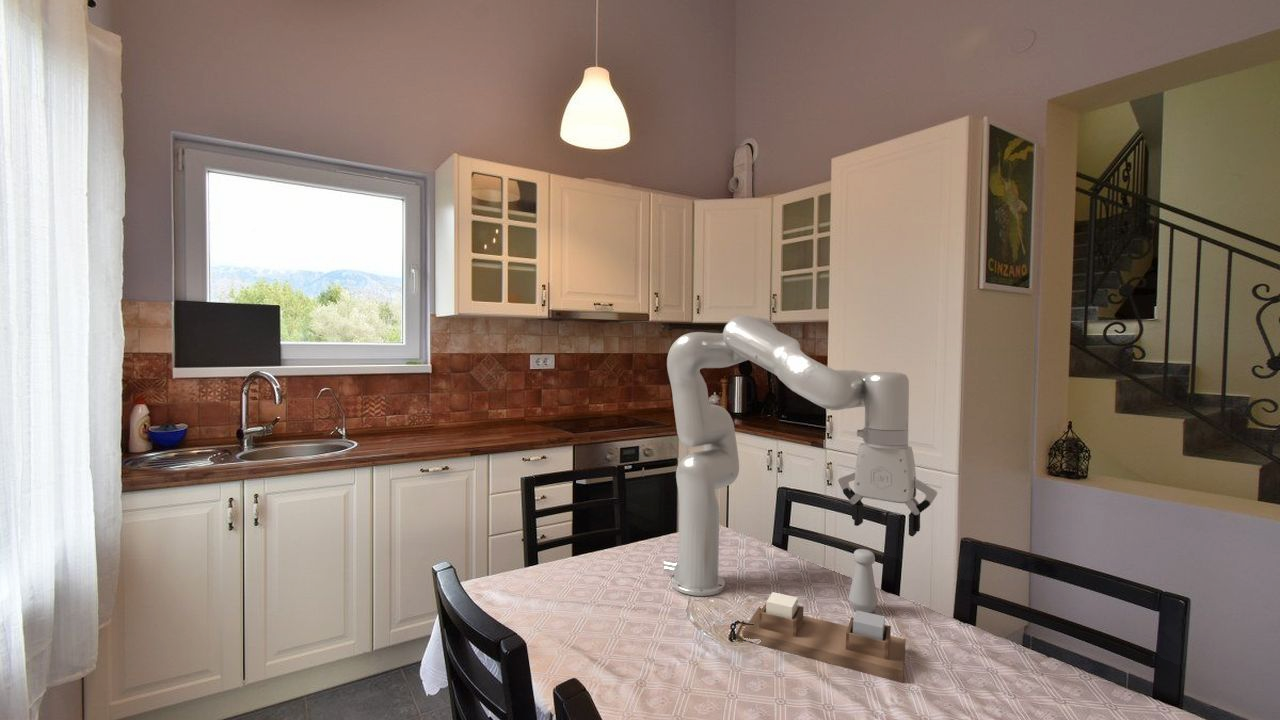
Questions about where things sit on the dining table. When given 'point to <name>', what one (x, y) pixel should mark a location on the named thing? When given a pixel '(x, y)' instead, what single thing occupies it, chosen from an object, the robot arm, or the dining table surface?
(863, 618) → the grey key
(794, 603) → the cream key
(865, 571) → the salt shaker
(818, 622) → the key panel
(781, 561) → the dining table surface
